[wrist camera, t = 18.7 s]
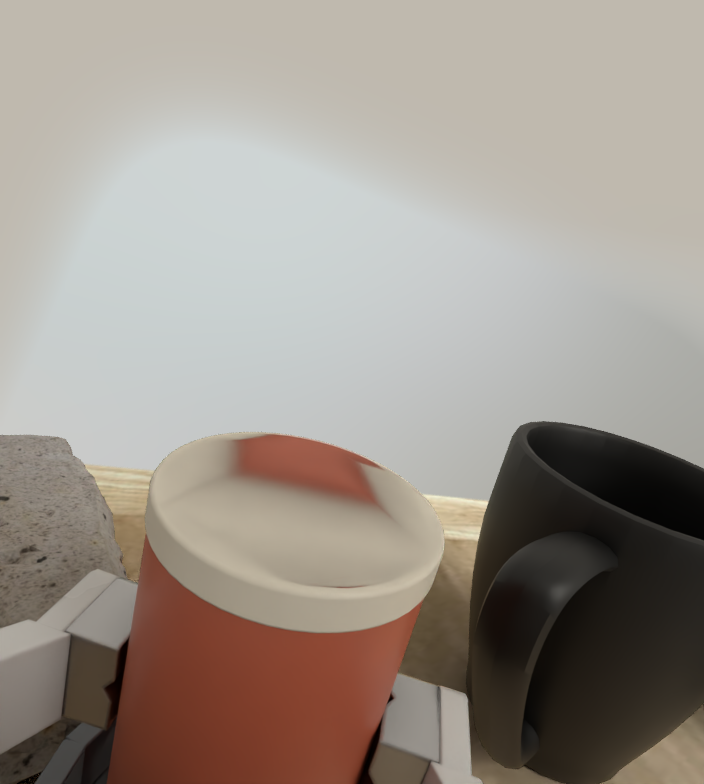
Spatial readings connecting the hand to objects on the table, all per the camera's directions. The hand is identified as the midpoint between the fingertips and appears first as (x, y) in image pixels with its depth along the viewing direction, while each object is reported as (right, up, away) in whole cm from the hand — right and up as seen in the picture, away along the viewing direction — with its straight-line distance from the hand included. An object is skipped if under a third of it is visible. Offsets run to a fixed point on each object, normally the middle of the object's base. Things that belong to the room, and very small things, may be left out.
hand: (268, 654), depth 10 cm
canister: (-2, -6, +1) cm, 6 cm away
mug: (+7, -7, +8) cm, 12 cm away
